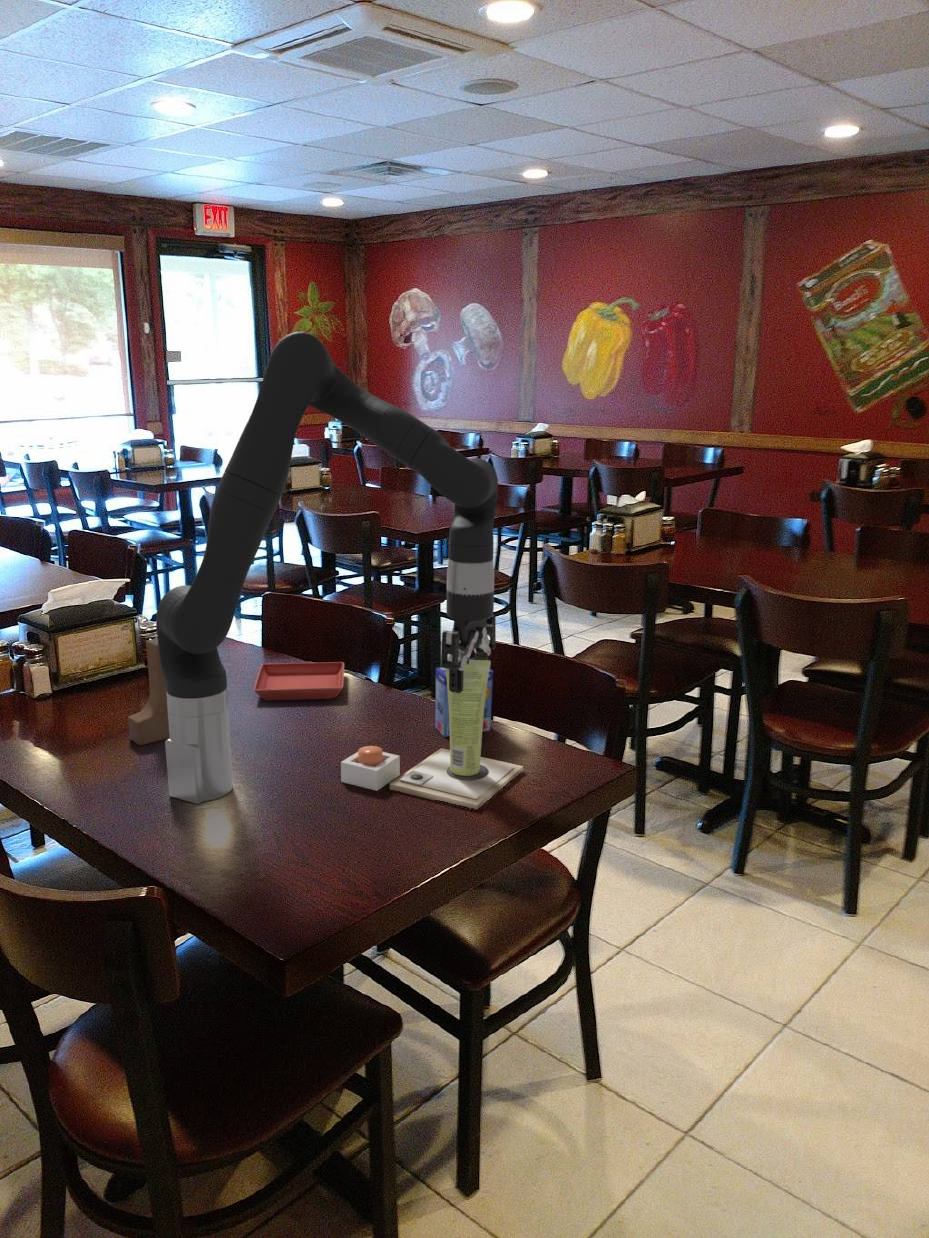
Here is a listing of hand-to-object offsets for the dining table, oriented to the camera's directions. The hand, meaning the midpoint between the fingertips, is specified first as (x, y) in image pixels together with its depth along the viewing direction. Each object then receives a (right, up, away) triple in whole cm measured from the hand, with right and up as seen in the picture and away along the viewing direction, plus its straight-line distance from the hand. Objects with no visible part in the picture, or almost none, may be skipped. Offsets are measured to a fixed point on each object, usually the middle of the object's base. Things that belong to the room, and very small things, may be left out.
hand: (468, 684), depth 158 cm
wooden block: (-57, -11, +21) cm, 62 cm away
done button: (-16, -15, +4) cm, 22 cm away
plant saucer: (-35, -5, +48) cm, 59 cm away
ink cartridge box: (-1, -10, +26) cm, 28 cm away
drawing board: (-2, -16, +4) cm, 17 cm away
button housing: (-16, -16, +4) cm, 23 cm away
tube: (0, -15, +4) cm, 16 cm away
